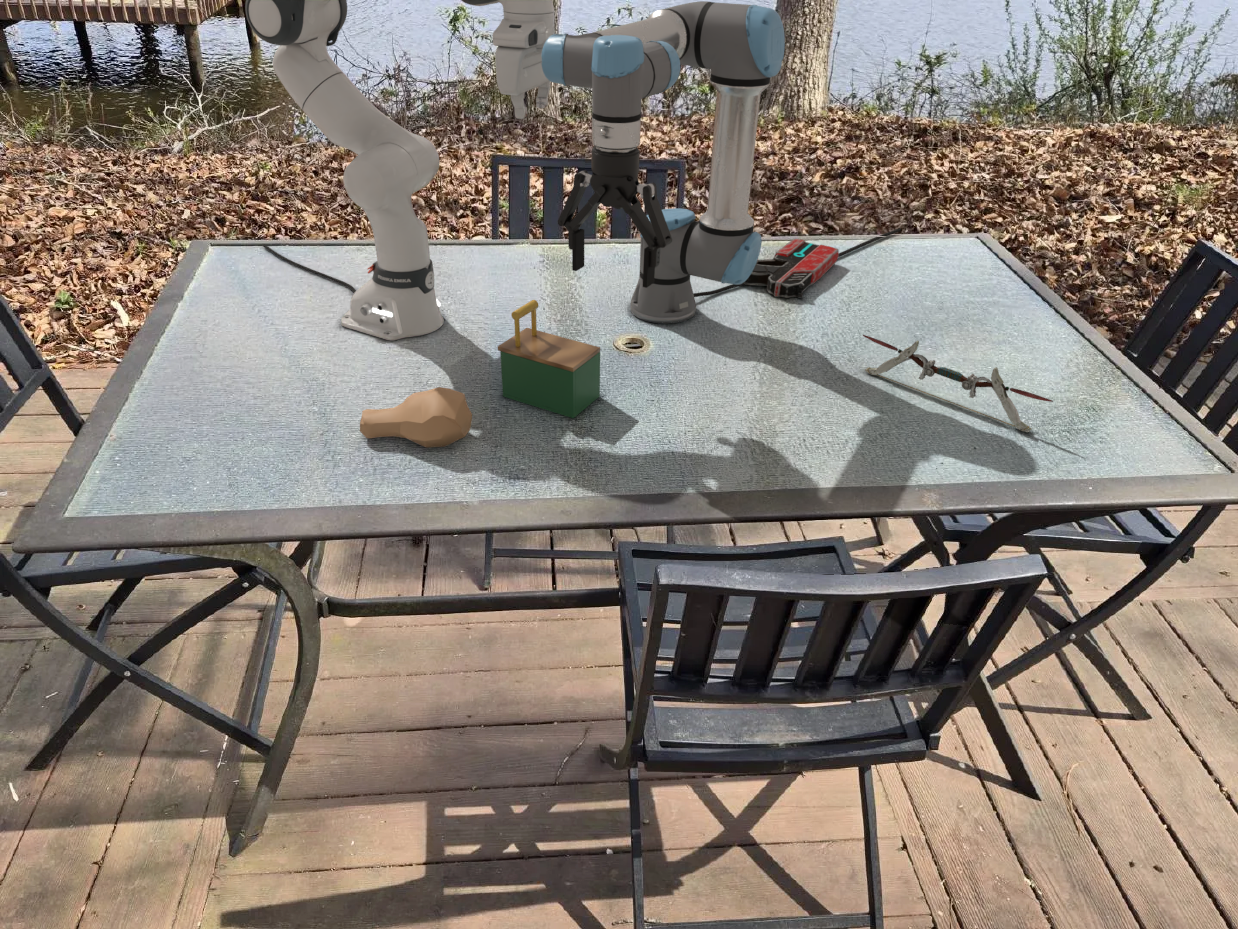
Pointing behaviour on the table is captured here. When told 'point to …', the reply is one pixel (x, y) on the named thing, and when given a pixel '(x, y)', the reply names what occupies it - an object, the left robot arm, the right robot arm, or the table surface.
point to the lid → (546, 344)
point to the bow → (967, 383)
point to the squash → (422, 418)
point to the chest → (550, 384)
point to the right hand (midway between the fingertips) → (612, 276)
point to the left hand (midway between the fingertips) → (531, 112)
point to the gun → (793, 268)
